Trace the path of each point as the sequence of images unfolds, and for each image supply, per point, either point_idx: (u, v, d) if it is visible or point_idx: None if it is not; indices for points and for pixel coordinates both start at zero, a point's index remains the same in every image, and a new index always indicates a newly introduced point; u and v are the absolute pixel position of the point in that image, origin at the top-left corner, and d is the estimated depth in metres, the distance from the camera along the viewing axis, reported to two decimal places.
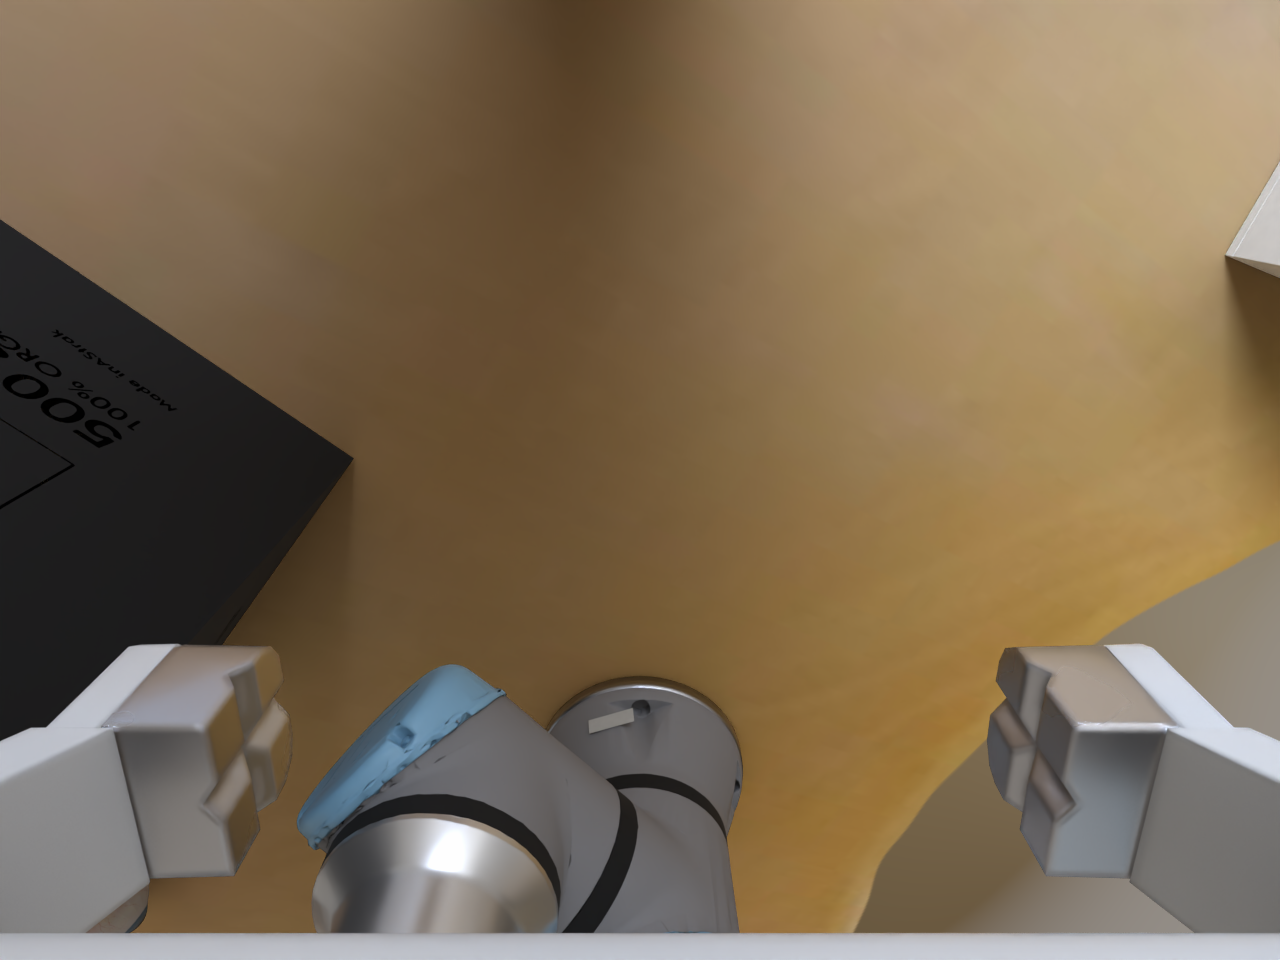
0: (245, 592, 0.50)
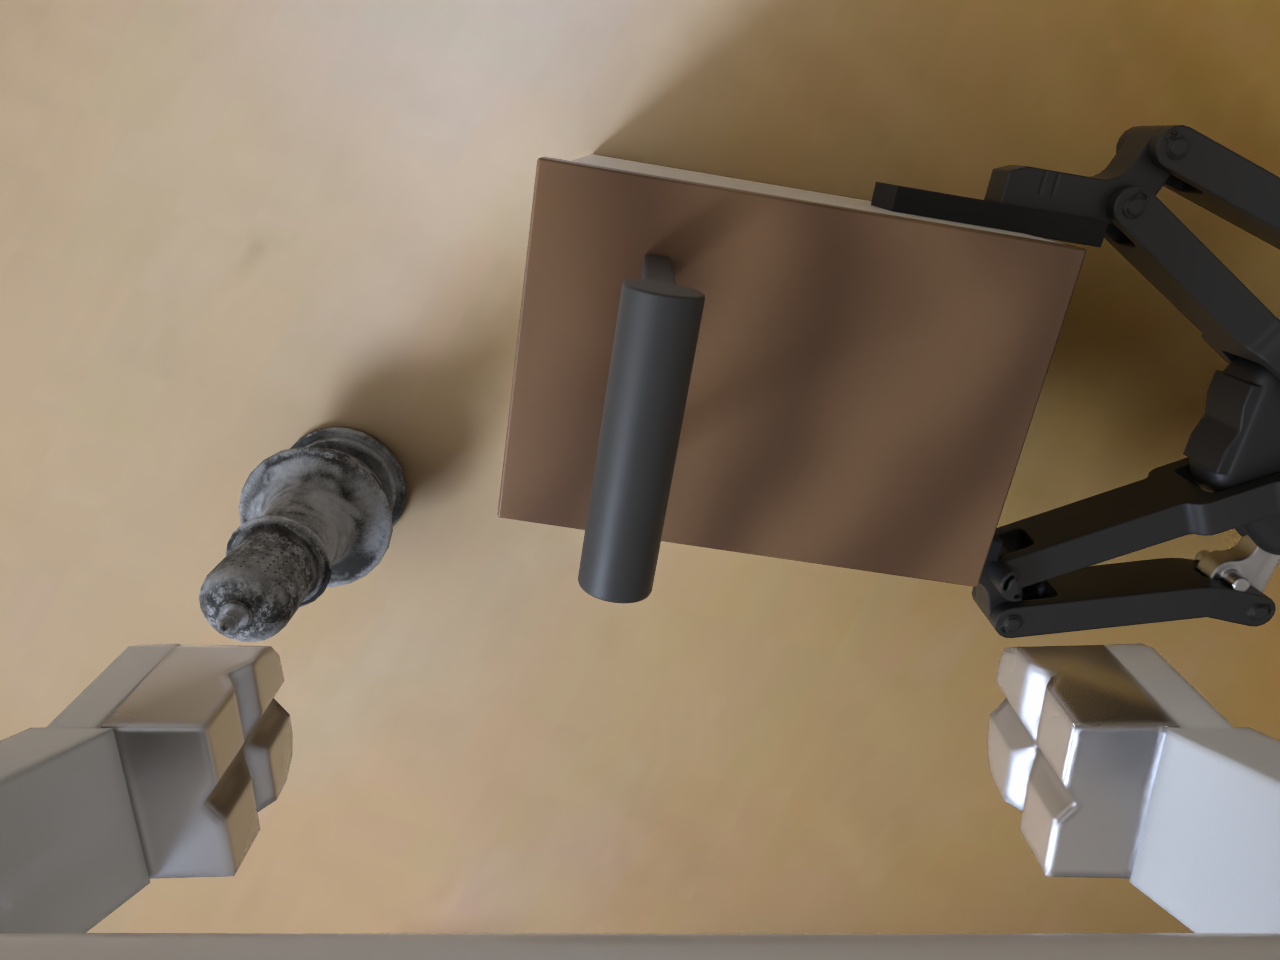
0: None
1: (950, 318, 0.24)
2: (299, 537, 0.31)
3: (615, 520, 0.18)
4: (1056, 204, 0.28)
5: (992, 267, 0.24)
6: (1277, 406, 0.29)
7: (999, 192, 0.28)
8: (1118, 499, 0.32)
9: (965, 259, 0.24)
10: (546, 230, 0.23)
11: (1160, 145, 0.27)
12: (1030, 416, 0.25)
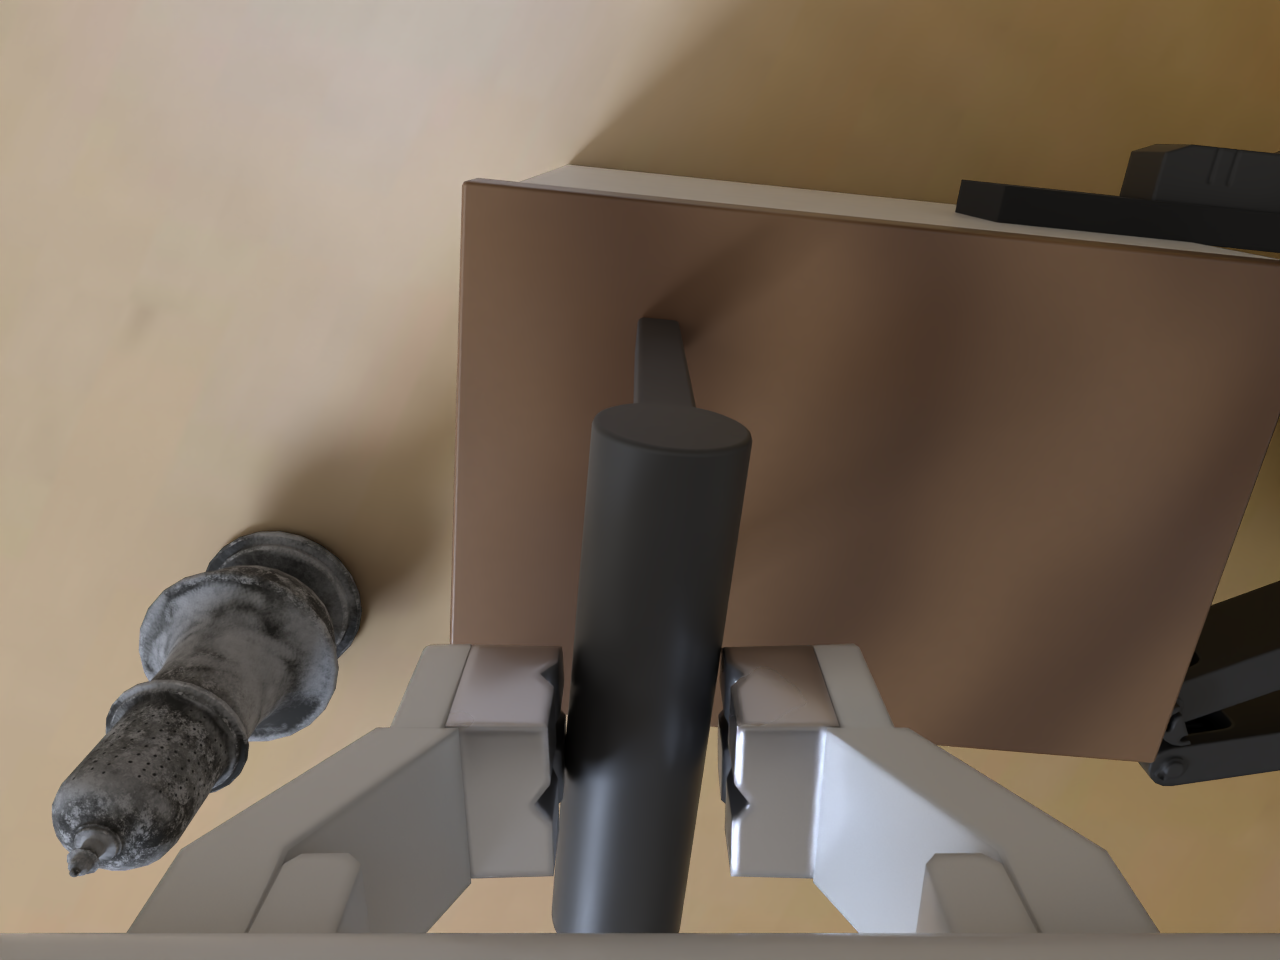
0: None
1: (1114, 387, 0.16)
2: (198, 708, 0.23)
3: (608, 842, 0.10)
4: (1234, 196, 0.19)
5: (1182, 306, 0.15)
6: None
7: (1148, 185, 0.19)
8: None
9: (1140, 297, 0.15)
10: (484, 291, 0.15)
11: None
12: (1236, 523, 0.17)
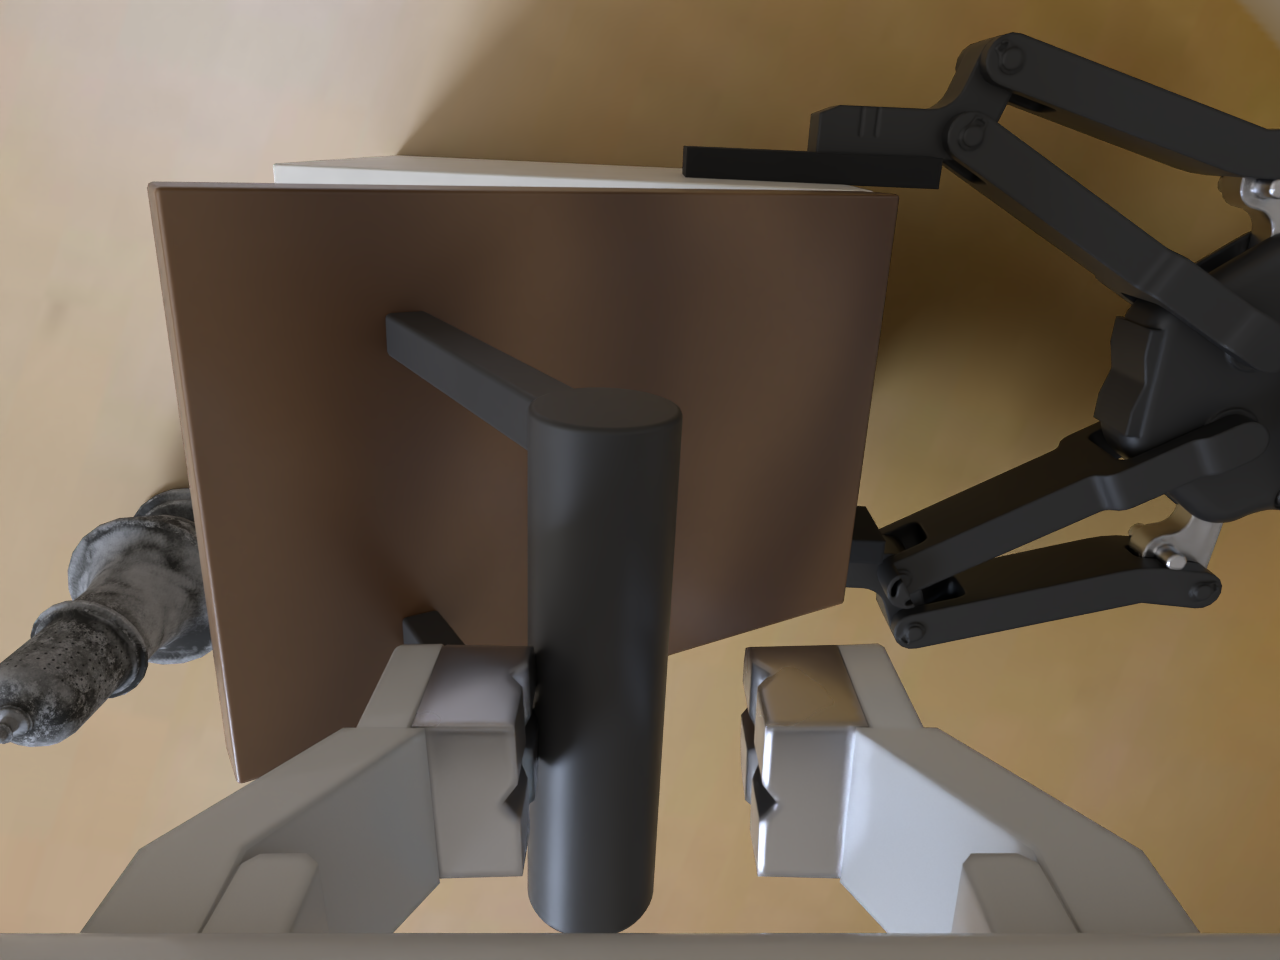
0: None
1: (782, 309, 0.19)
2: (102, 622, 0.28)
3: (609, 815, 0.10)
4: (882, 145, 0.23)
5: (816, 236, 0.19)
6: (1184, 351, 0.25)
7: (815, 140, 0.24)
8: (1023, 477, 0.28)
9: (788, 232, 0.18)
10: (204, 312, 0.13)
11: (990, 59, 0.22)
12: (869, 400, 0.21)
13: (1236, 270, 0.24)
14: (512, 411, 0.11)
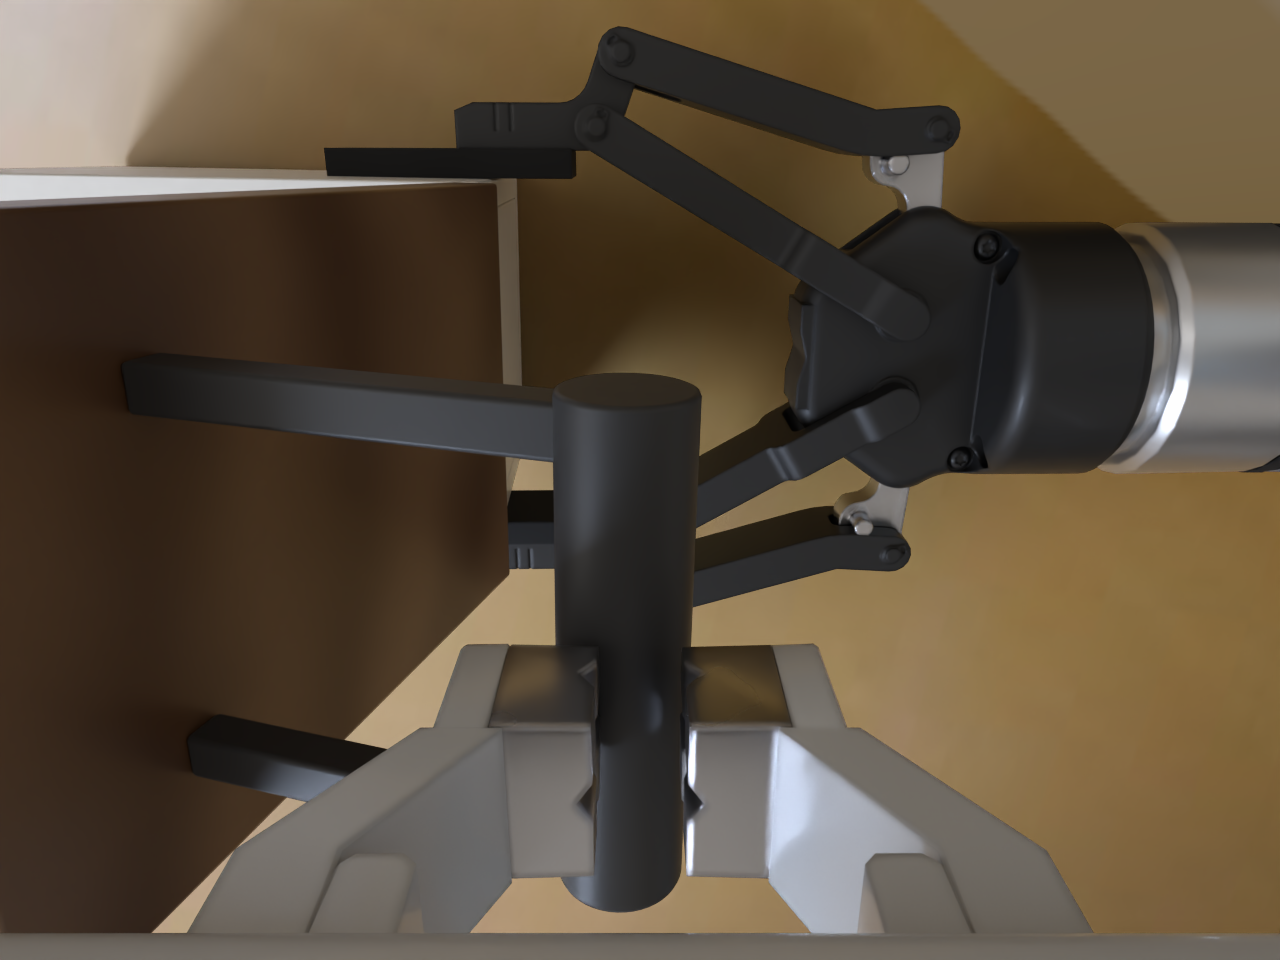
0: None
1: (440, 303, 0.19)
2: None
3: (677, 771, 0.11)
4: (519, 139, 0.24)
5: (453, 227, 0.19)
6: (835, 324, 0.26)
7: (457, 137, 0.25)
8: (720, 454, 0.29)
9: (435, 224, 0.18)
10: None
11: (602, 53, 0.23)
12: (502, 379, 0.22)
13: (874, 244, 0.26)
14: (483, 422, 0.10)
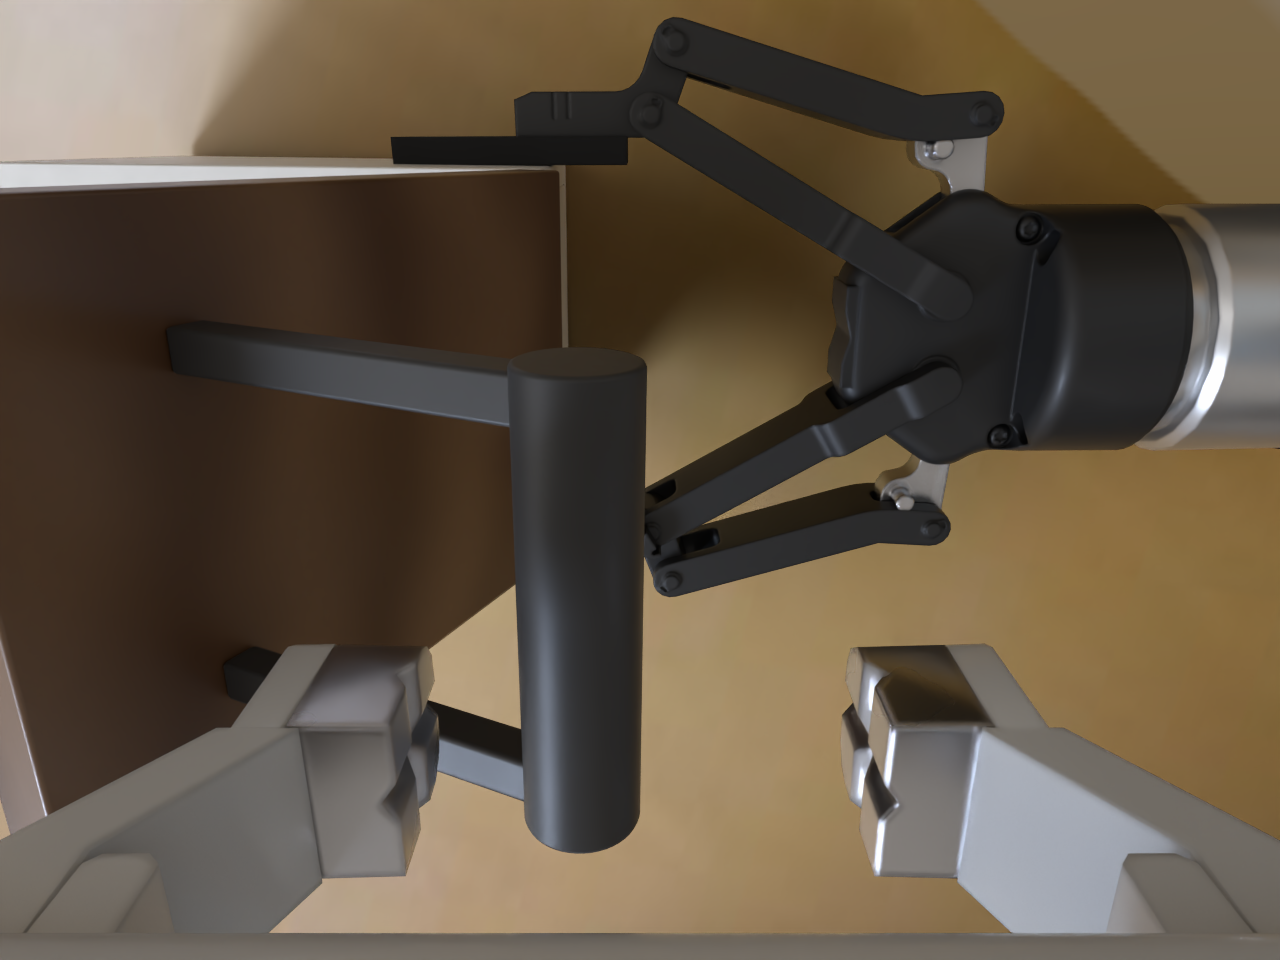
0: None
1: (494, 283, 0.20)
2: None
3: (625, 726, 0.12)
4: (575, 127, 0.25)
5: (509, 212, 0.20)
6: (880, 304, 0.27)
7: (517, 125, 0.26)
8: (765, 431, 0.30)
9: (489, 209, 0.20)
10: None
11: (657, 43, 0.24)
12: None
13: (918, 227, 0.26)
14: (450, 388, 0.11)
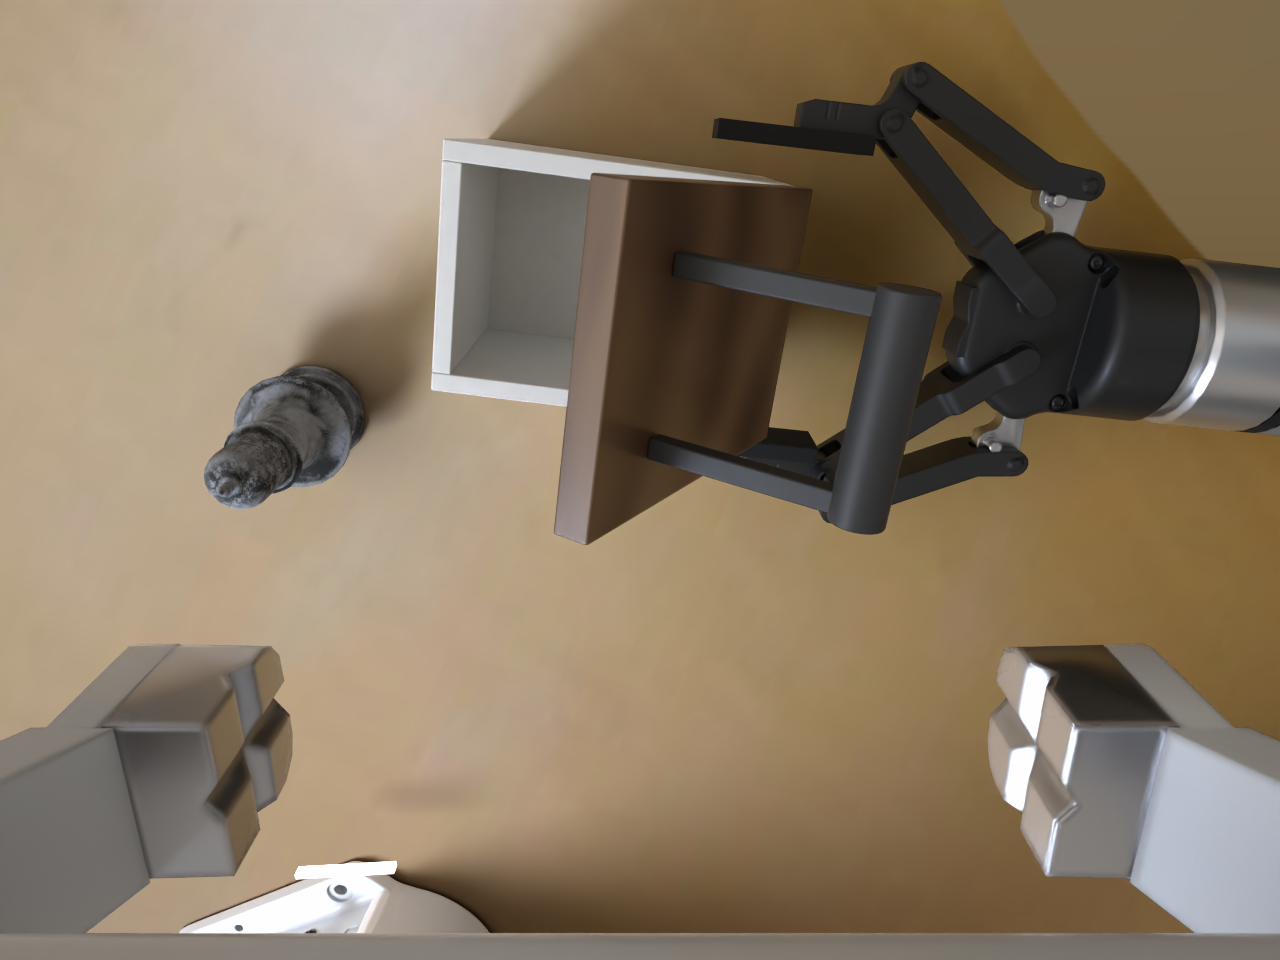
0: None
1: (774, 254, 0.33)
2: (276, 436, 0.42)
3: (896, 469, 0.24)
4: (840, 126, 0.38)
5: (788, 212, 0.33)
6: (992, 302, 0.40)
7: (798, 120, 0.38)
8: None
9: (782, 209, 0.32)
10: (630, 249, 0.23)
11: (908, 75, 0.36)
12: None
13: (1024, 253, 0.39)
14: (842, 295, 0.23)
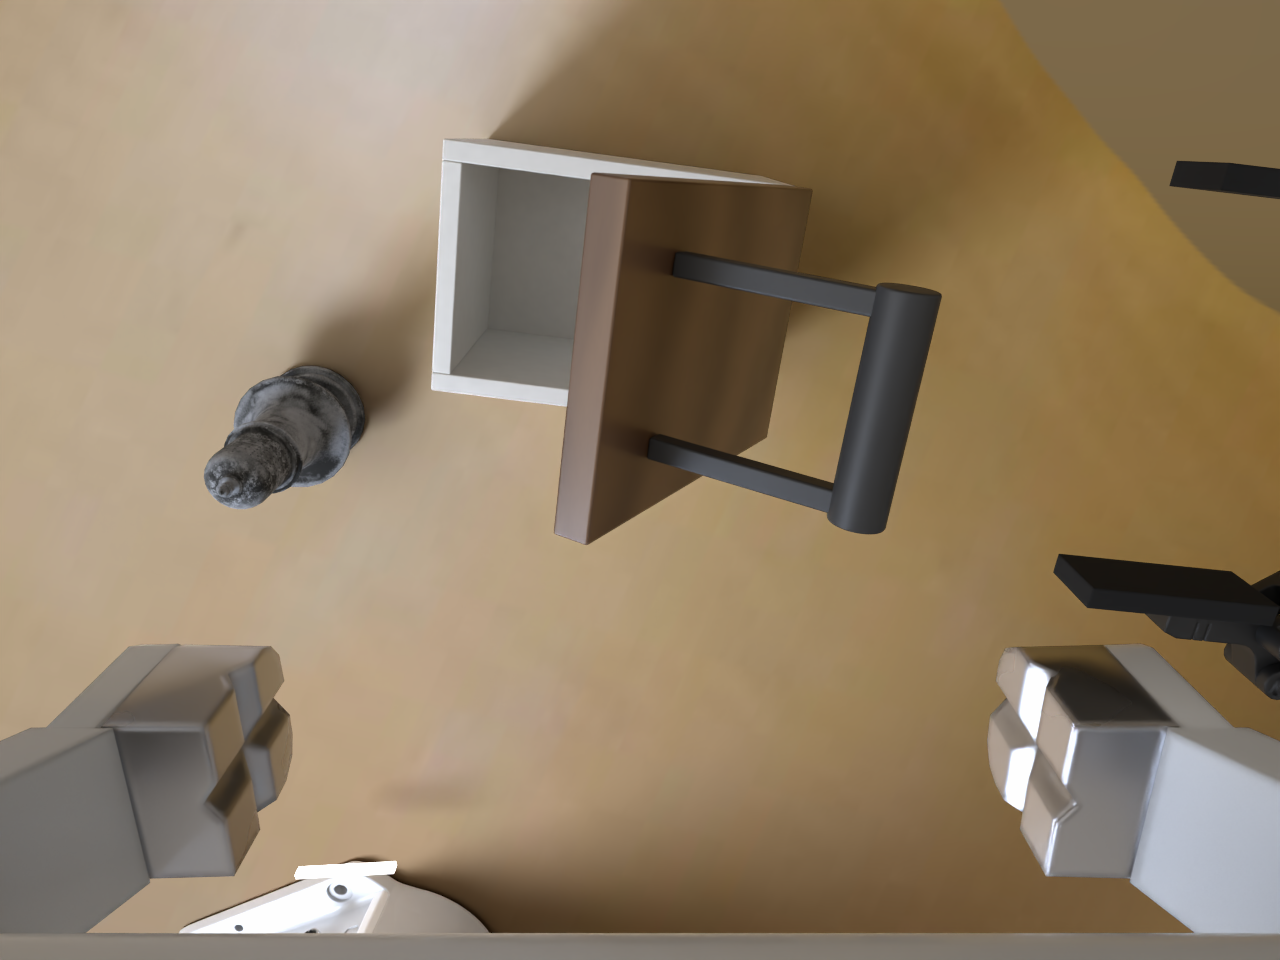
0: None
1: (774, 254, 0.33)
2: (276, 436, 0.42)
3: (896, 469, 0.24)
4: None
5: (788, 212, 0.33)
6: None
7: None
8: None
9: (782, 209, 0.32)
10: (630, 249, 0.23)
11: None
12: None
13: None
14: (842, 295, 0.23)
